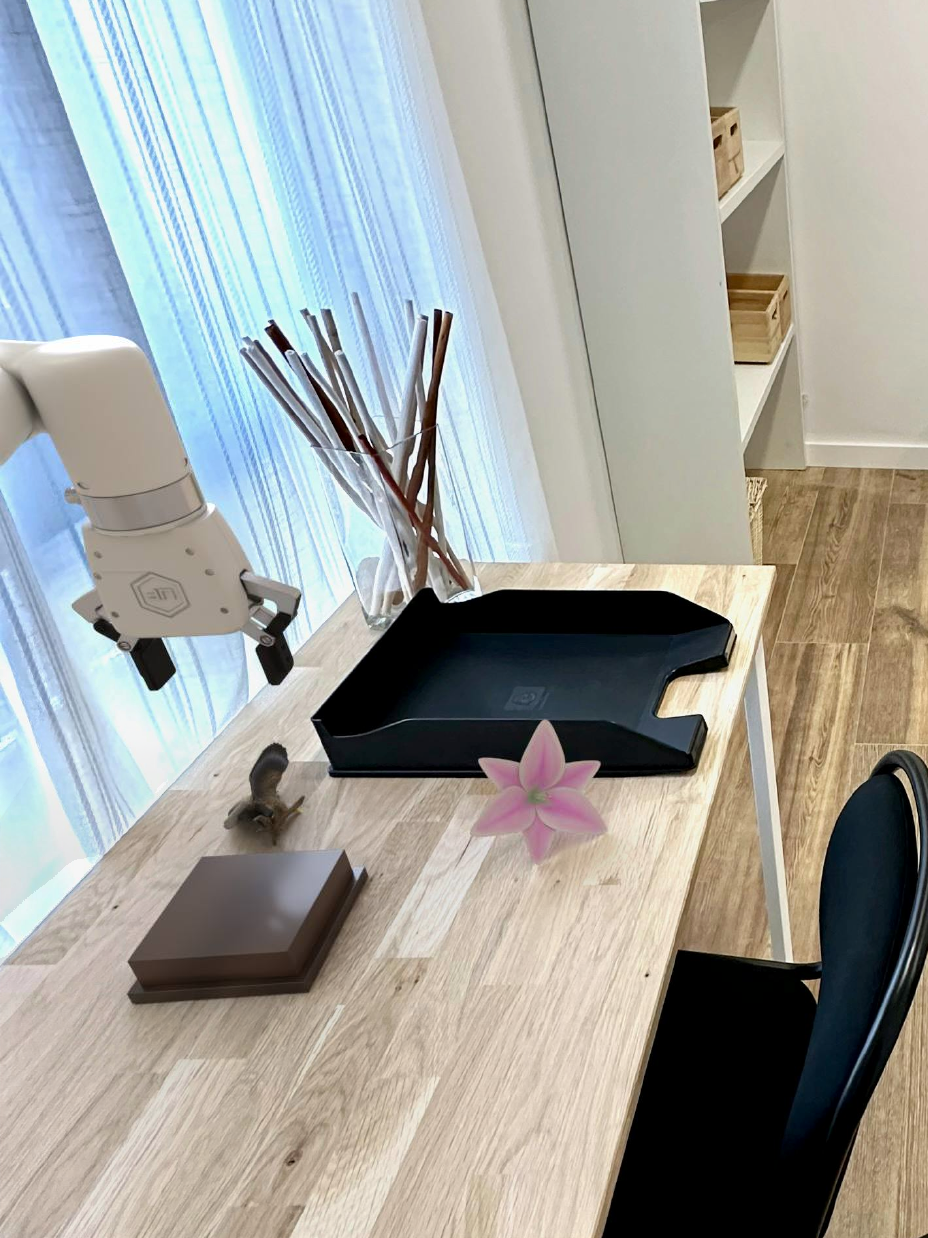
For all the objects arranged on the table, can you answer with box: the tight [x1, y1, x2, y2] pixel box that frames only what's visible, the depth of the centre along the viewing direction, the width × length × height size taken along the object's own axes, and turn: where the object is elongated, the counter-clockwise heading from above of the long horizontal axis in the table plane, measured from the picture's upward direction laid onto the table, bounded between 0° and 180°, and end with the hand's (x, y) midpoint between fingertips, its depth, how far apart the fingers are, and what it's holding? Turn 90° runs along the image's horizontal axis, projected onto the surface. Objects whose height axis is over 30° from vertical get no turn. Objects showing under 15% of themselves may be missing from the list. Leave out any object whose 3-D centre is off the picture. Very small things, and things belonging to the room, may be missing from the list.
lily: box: [469, 718, 608, 866], centre depth 101 cm, size 12×12×10 cm
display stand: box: [126, 848, 369, 1005], centre depth 90 cm, size 13×13×4 cm
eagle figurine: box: [223, 741, 306, 846], centre depth 101 cm, size 8×7×9 cm
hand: (223, 679), depth 94 cm, fingers open, 9 cm apart
